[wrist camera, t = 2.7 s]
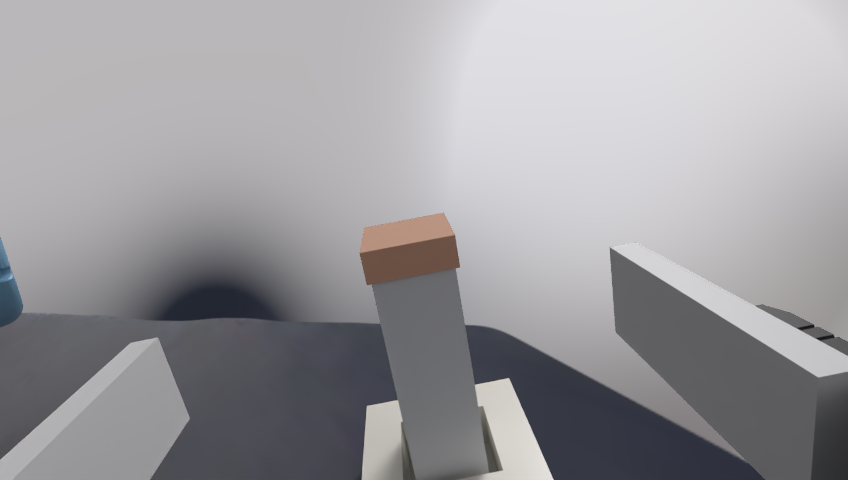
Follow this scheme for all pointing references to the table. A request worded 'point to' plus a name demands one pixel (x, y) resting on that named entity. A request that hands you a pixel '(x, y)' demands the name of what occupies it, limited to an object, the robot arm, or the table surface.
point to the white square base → (502, 431)
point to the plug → (427, 344)
